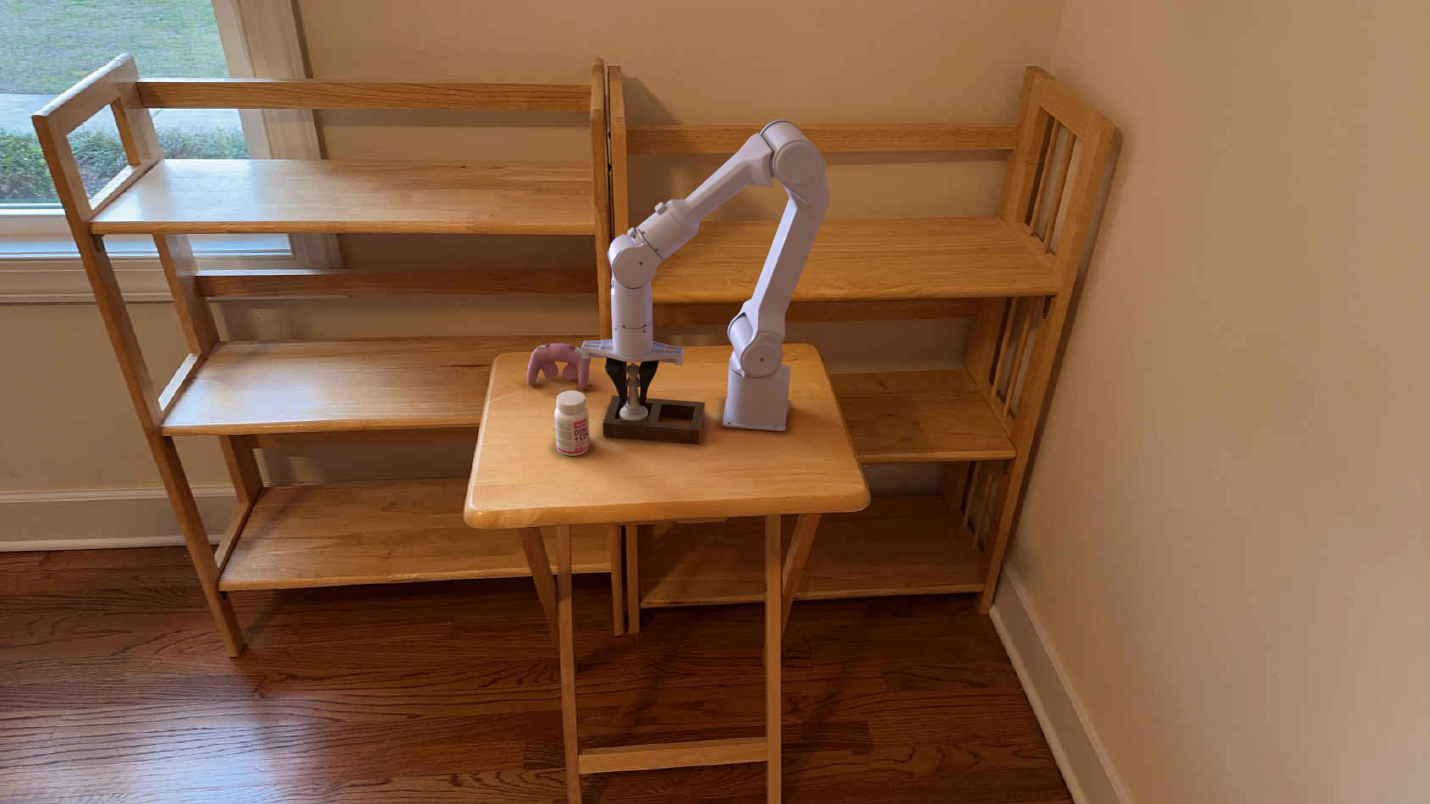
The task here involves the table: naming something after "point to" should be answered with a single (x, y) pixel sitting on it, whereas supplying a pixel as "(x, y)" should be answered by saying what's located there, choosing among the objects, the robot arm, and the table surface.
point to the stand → (657, 421)
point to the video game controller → (559, 352)
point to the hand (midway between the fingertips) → (633, 401)
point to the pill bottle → (571, 423)
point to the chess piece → (633, 397)
